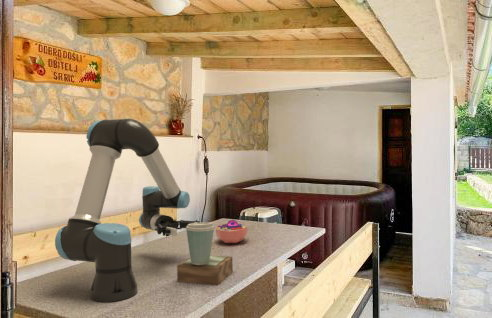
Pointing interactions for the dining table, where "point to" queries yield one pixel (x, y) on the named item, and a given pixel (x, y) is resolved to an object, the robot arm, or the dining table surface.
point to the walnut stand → (205, 270)
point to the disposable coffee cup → (200, 242)
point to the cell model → (231, 232)
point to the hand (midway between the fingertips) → (190, 230)
